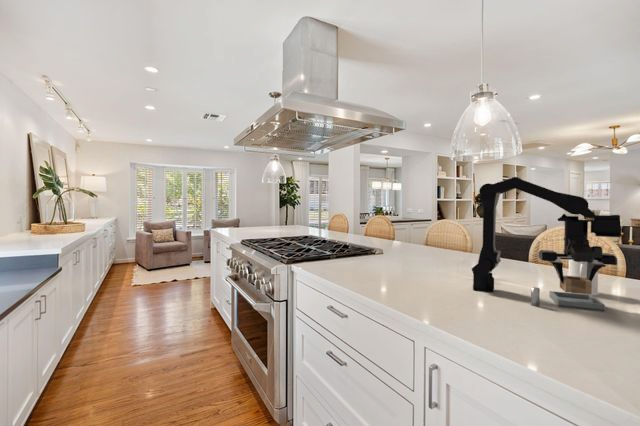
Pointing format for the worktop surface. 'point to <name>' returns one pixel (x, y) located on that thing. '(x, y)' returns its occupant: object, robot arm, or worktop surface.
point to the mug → (583, 274)
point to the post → (535, 296)
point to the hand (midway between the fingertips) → (574, 283)
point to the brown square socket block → (576, 285)
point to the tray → (576, 301)
